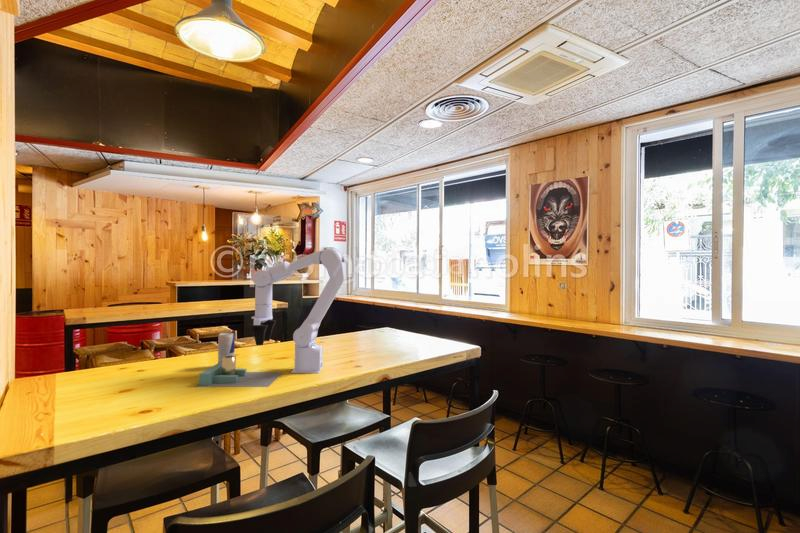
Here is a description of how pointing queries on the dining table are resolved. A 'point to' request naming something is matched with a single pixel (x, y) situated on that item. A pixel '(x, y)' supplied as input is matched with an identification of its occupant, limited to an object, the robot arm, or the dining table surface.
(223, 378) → the socket dock
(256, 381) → the mat
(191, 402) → the dining table surface
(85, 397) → the dining table surface
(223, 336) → the energy drink
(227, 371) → the brass tube
